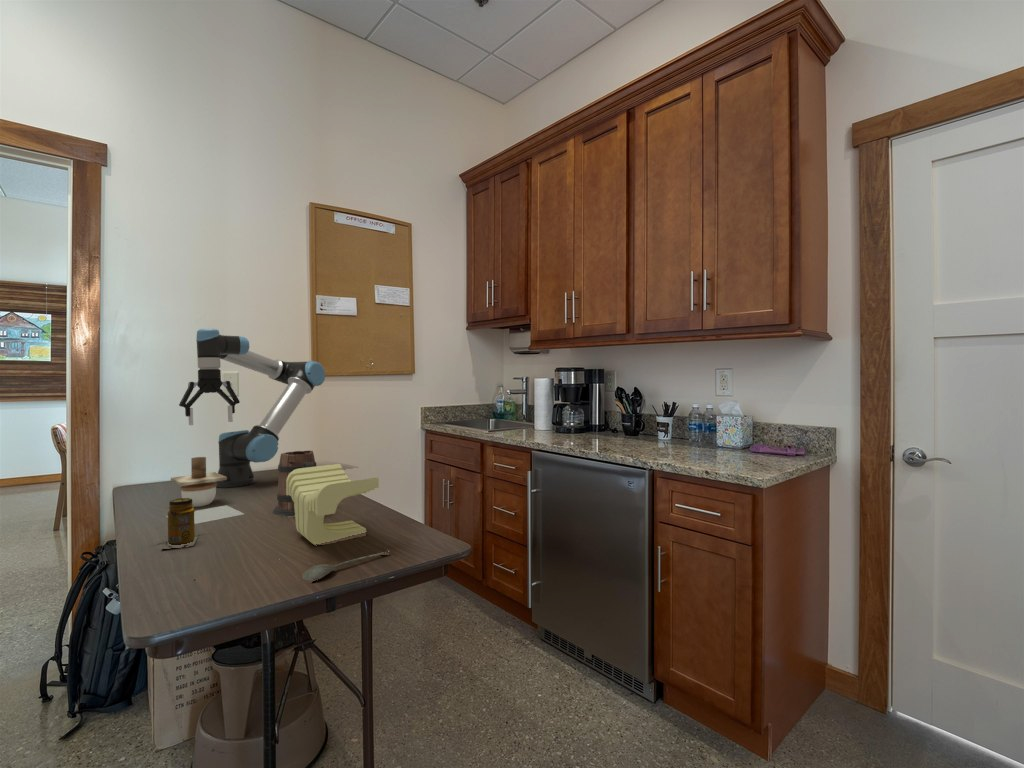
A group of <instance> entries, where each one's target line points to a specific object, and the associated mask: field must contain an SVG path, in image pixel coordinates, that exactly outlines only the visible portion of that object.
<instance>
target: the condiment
mask: <svg viewBox="0 0 1024 768" xmlns="http://www.w3.org/2000/svg"><path fill="white" fill-rule="evenodd" d="M168 505H169V507H168V509H169V511H168V512H167V516H168V518H167V541H168V543H169V544H171V545H181V544H187V543H190V542H193V541H194V538H196V536H195V533H196V532H195V528H196V527H195V525H196V524H195V523H194V511H195V507H192V506H193V504H192V499H191V498H182V497H181V498H176V499H172V500H170V501H169V503H168Z"/></svg>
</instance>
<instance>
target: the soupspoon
mask: <svg viewBox="0 0 1024 768" xmlns="http://www.w3.org/2000/svg"><path fill="white" fill-rule="evenodd" d="M387 551H388V552H390V553H391V551H390V550H387ZM387 551H383V552H377V553H374V554H370V555H365V556H362V557H357V558H353V559H351V560H346V561H342V562H340V563H337V564H333V565H332V564H327V563H323V564H316V565H314V566H312V567H309V568H307V570H305V571H303V573H302V574H301V575H302V578H303V579H305V580H317V581H319V580H320V579H322V578H325V576H326V575H328V574H330V573H331V572H333V571H334V570H335V569H336V568H339V567H342V566H344V565H348V564H350V563H354V562H357V561H361V560H365V559H370V558H373V556H374V557H378V556H377V555H380V554H383V553H384V552H385V553H386V552H387ZM318 579H319V580H318Z"/></svg>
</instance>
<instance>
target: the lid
mask: <svg viewBox="0 0 1024 768" xmlns="http://www.w3.org/2000/svg"><path fill="white" fill-rule="evenodd" d="M190 460H191V463H190V464H191V466H190V467H191V470H190V471H191V472H190V473H191V475H182V476H175V477H170V481H171V482H173V483H174V484H176V485H178V486H180V487H181V486H185V485H193V484H200V483H208V482H215V481H223V480H227V477H225V476H223V475H221V474H218V472H214V471H213V472H207V457H206V456H198V457H197V456H196V457H192V458H191V459H190Z"/></svg>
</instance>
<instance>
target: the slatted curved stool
mask: <svg viewBox="0 0 1024 768" xmlns="http://www.w3.org/2000/svg"><path fill="white" fill-rule="evenodd" d="M379 487H380V485H379V477H371V478H366V479H365V478H364V479H359V480H358V479H357V480H351V479H350V478H349V476H348V475H347V474H346V472H345V470H344V469H343V466H342V465H341V463H336V464H335V463H334V464H325V465H316V467H307V468H299V469H295V470H293V471H292V472H291V473H290V474H289V475H288V477H287V480H286V495H290V496H291V498H292V500H293V502H294V509H295V517H294V518H295V527H296V531H297V532H298V533H299V534H300V535H301V536H303V537H304V538H306V540H308V542H310V543H311V544H313V545H314V546H317V545H316V544H321V543H325V542H330V541H334V540H338V539H341V538H345V537H348V536H352V535H357V534H361V533H365V532H367V528H366V527H364V526H362V525H360V524H359V523H358V522H355V521H354V520H345V521H339V522H332V523H331V522H329V523H324V521H325V520H324V519H325V516H326V515H327V516H328V515H333V514H334V515H335V514H336V512H337V508H338V506H339V504H340V503H341V502H342V501H343V500H344V499H346V498H349V497H354V496H359V495H362V494H363V495H364V494H367V493H369V492H371V491H373V490H376V489H379Z"/></svg>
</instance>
